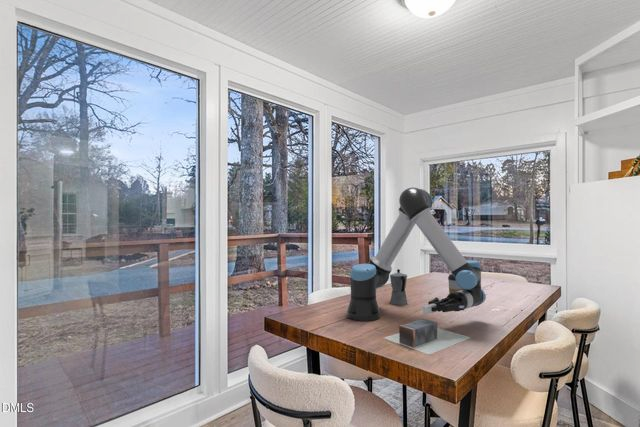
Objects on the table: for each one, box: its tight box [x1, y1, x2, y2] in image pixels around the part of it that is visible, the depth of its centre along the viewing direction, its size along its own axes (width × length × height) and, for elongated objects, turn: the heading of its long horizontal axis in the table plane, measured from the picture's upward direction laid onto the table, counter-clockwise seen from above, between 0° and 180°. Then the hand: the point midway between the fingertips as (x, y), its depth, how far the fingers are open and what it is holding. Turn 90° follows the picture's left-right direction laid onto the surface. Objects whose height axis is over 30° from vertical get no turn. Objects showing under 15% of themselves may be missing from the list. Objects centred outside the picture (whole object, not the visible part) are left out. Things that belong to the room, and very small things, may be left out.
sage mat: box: [383, 327, 472, 355], centre depth 127 cm, size 26×20×1 cm
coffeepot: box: [389, 269, 408, 306], centre depth 181 cm, size 15×9×18 cm, turn 6°
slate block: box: [398, 318, 438, 348], centre depth 124 cm, size 6×6×14 cm
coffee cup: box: [447, 273, 462, 295], centre depth 180 cm, size 8×8×15 cm
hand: (424, 310), depth 127 cm, fingers closed
